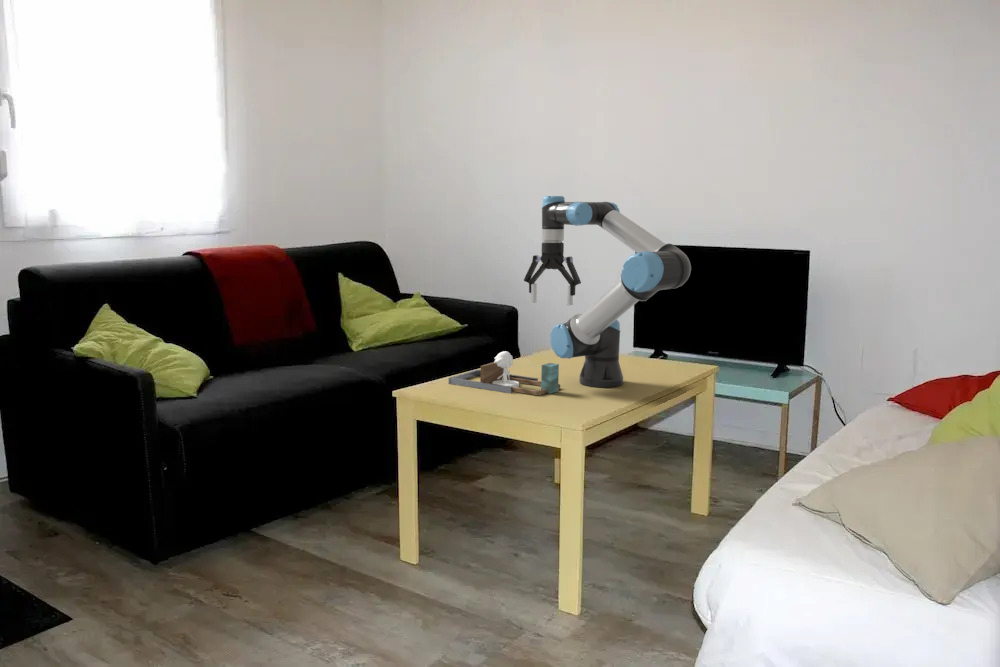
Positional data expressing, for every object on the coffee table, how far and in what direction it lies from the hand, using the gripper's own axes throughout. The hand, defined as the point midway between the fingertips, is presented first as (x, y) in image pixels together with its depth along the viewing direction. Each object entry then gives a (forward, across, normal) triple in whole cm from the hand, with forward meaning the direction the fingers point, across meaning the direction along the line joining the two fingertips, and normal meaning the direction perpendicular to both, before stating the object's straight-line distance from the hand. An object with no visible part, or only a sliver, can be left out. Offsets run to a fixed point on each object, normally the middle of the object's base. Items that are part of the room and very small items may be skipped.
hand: (551, 303), depth 297 cm
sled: (+27, +4, +14) cm, 31 cm away
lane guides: (+27, +16, +13) cm, 34 cm away
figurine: (+28, +11, +13) cm, 32 cm away
